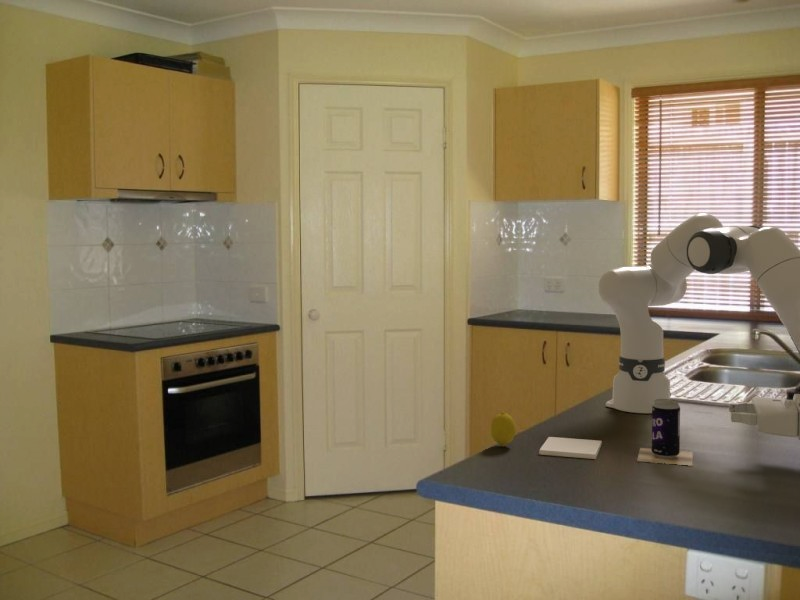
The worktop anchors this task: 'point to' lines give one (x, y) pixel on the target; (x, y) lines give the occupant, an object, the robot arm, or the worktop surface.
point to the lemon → (503, 428)
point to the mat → (571, 447)
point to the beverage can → (665, 428)
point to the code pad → (680, 459)
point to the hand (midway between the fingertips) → (729, 412)
